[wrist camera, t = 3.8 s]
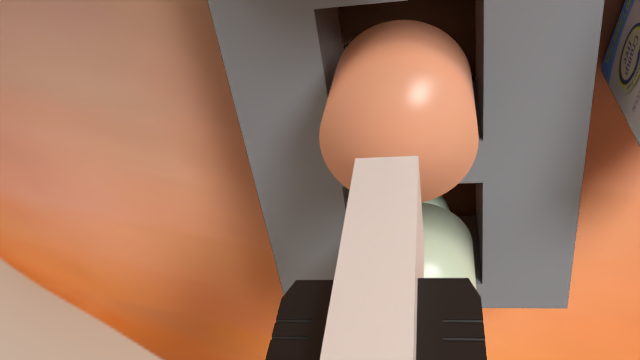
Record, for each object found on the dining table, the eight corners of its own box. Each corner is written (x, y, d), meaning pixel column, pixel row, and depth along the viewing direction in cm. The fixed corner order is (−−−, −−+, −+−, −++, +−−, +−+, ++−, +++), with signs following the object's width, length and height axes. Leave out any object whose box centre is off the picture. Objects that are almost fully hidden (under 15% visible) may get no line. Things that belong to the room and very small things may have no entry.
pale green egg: (357, 172, 24) (341, 268, 20) (469, 168, 24) (478, 267, 19) (368, 253, 27) (356, 354, 23) (470, 252, 26) (478, 357, 22)
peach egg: (334, 3, 20) (307, 77, 16) (467, -10, 20) (478, 65, 15) (349, 116, 23) (330, 206, 19) (468, 109, 22) (478, 202, 18)
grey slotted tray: (186, -299, 19) (127, -307, 15) (605, -387, 16) (655, -421, 13) (303, 240, 31) (286, 306, 28) (549, 236, 29) (567, 308, 25)
